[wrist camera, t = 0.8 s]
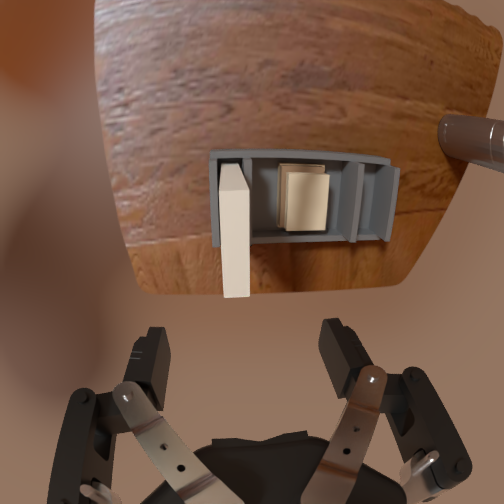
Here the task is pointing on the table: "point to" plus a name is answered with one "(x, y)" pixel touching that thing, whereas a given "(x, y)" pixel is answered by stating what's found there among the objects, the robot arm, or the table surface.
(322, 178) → the offcuts
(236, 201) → the white rectangular board
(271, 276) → the table surface
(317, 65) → the table surface
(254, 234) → the rack
